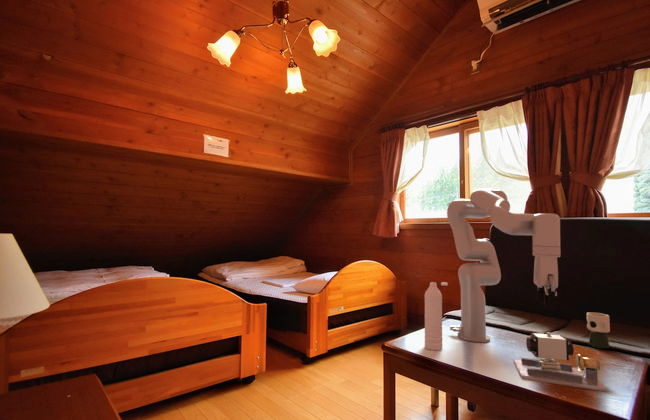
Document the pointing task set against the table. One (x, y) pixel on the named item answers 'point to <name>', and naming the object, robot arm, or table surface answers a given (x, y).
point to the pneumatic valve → (549, 349)
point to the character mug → (598, 329)
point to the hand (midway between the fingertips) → (546, 305)
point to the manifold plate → (563, 373)
